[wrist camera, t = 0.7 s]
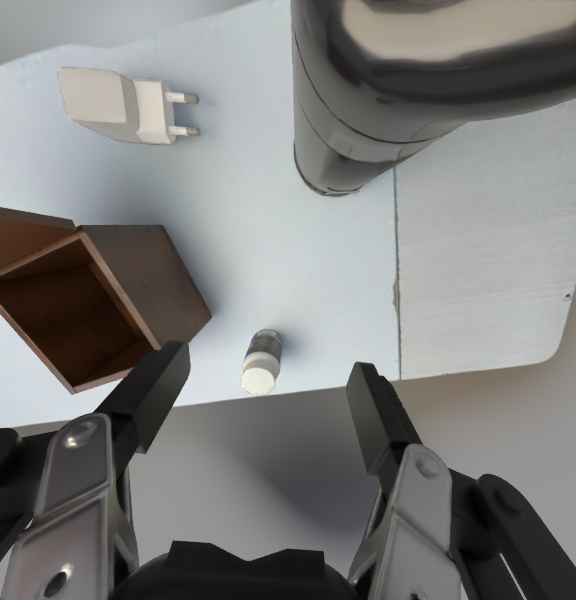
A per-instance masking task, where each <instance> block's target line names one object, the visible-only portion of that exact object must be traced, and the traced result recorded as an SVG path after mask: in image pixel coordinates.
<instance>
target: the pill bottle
mask: <svg viewBox="0 0 576 600" xmlns="http://www.w3.org/2000/svg"><path fill="white" fill-rule="evenodd" d="M282 346H283V343H282V339H281V337H280V336H279V335H278V334H277V333H276V332H274V331H271V330H262V331H259V332H257V333H256V334H255V335H254V337H253V338H252V340H251V343H250V346H249V348H248V351H247V354H246V356H245V359H244V361H243V366H242V369H243V372H242V375H241V385H242V387H243V388H244V389H245V390H246V391H247V392H249V393H251V394H254V395H264V394H267V393H269V392H270V391H271V390H272V389H273V388H274V386H275V381H276V378H277V377H278V375H279V372H280V365H281V355H282Z"/></svg>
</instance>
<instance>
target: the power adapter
mask: <svg viewBox="0 0 576 600" xmlns="http://www.w3.org/2000/svg"><path fill="white" fill-rule="evenodd" d="M57 74H58V81H59V87H60V91H61V95H62V100H63V104H64V108H65V111H66V114H67V115H68V116H69V117H70V118H71V119H72V120H73V121H74V122H76V123H78V124H80V125H82V126H84V127H86V128H88V129H90V130H92V131H94V132H97V133H99V134H101V135H103V136H105V137H108V138H110V139H113V140H115V141H120V142H130V143H141V144H160V143H165V144H173V143H174V142H175V135H188V136H195V137H199V136H200V134H201V133H200V130H199V129H198V128H195V127H178V126H175V123H174V111H173V102H182V103H189V104H198V103H199V98H198V96H197V95H196V94H191V93H174V92H171V91H170V88H169V86H168V84H167V82H166V81H164V80H152V79H139V78H134V79H132V80H129V79H128V78H126V77H125V76H123V75H121V74H119V73H116V72H114V71H109V70H101V69H90V68H76V67H62V68H61V69H60V70H59V71H58V72H57Z"/></svg>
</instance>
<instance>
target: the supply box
mask: <svg viewBox="0 0 576 600" xmlns="http://www.w3.org/2000/svg"><path fill="white" fill-rule="evenodd" d="M76 229H77V230H75V231H73V232H71V233H69V234H67V235H65V236H63V237H61V238H59V239H56V240H54V241H52V242H50V243H48V244H46V245H44V246H42V247H40V248H38V249H36V250H34V251H32V252H30V253H27V254H25V255H23V256H21V257H19V258H17V259H15V260H13V261H11V262H9V263H7V264H5V265H3V266H1V267H0V314H1V315H2V317H3V318H4V319H5V320H6V321H7V322H8V323H9V325H10V326H11V327H12V328H13V329H14V330H15V331H16V332H17V334H18V335H19V336H20V337H21V338H22V339H23V340H24V341H25V343H26V344H27V345H28V346H29V347H30V348H31V349H32V351H33V352H34V353H35V354H36V355H37V356H38V357H39V358H40V360H41V361H42V362H43V363H44V364H45V365H46V366H47V367H48V369H49V370H50V371H51V372H52V373H53V374H54V375H55V376H56V378H57V379H58V380H59V381H60V382H61V383H62V384H63V386H64V387H65V388H66V389H67V390H68V391H69V392H70V393H71V394H72V395H73V394H76V393H79V392H82V391H85V390H88V389H91V388H94V387H97V386H100V385H103V384H106V383H109V382H112V381H115V380H118V379H121V378H124V377H126V376H127V374H128V373H129V372H130V371H131V370H132V369H134V366H135V365H136V364H137V363H138V362H139V361H140V360H141V358H142V357H144V356H145V355H147V354H148V353H150V352H152V351H153V350H160V349H161V348H162V347H163V346H164V345H165V343H166V342H167V341H168V340H178V341H186V342H188V343H189V342H190V341H191V340H192V339H193V338H194V337H195V336H196V334H197V333H198V332H199V331H200V330H201V329H202V328H203V327H204V326H205V325H206V324H207V322H208V321H209V320H210V319H211V318H212V316H211V314H210V312H209V310H208V308H207V306H206V304H205V303H204V301H203V299H202V297H201V295H200V293H199V291H198V290H197V288H196V286H195V284H194V282H193V280H192V278H191V277H190V275H189V273H188V271H187V269H186V267H185V266H184V264H183V262H182V260H181V258H180V256H179V254H178V253H177V251H176V249H175V247H174V245H173V243H172V241H171V240H170V238H169V236H168V234H167V232H166V230H165V228H164V227H163V225H80V226H78V227H76Z"/></svg>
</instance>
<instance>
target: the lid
mask: <svg viewBox="0 0 576 600" xmlns="http://www.w3.org/2000/svg"><path fill="white" fill-rule="evenodd" d="M75 230H77V229H76V227H75V225H74V223H73V221H72V220H70V219H64V218H59V217H53V216H47V215H42V214H36V213H30V212H25V211H19V210H14V209H8V208H2V207H0V267H1V266H3V265H5V264H7V263H9V262H11V261H13V260H15V259H17V258H19V257H21V256H23V255H25V254H27V253H30V252H32V251H34V250H36V249H38V248H40V247H42V246H44V245H46V244H48V243H50V242H52V241H54V240H56V239H59V238H61V237H63V236H65V235H67V234H69V233H71V232H73V231H75Z"/></svg>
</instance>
